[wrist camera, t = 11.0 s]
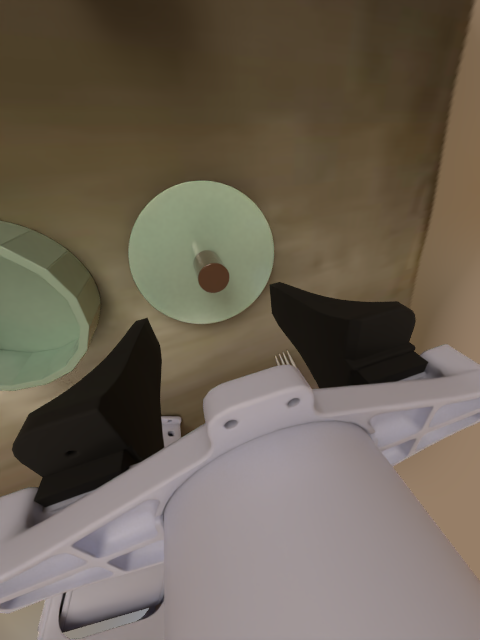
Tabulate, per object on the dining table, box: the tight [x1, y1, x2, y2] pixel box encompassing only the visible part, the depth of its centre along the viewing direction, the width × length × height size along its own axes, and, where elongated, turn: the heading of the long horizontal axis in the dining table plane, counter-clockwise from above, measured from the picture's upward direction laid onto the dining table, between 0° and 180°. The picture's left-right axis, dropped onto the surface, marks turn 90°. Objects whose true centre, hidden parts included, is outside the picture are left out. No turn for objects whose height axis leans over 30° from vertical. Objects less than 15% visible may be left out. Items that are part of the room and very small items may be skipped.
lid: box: [128, 180, 274, 324], centre depth 20 cm, size 12×12×4 cm
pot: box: [0, 221, 101, 391], centre depth 17 cm, size 12×12×4 cm
